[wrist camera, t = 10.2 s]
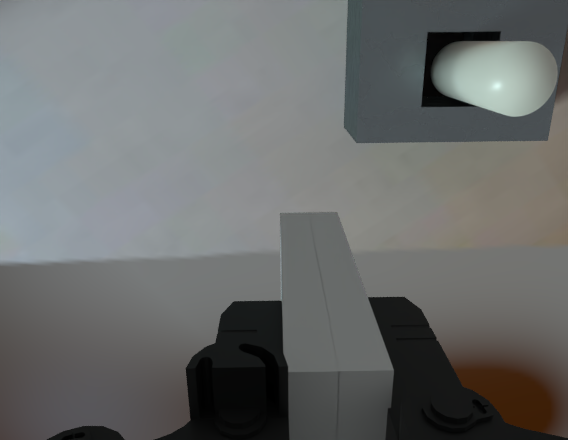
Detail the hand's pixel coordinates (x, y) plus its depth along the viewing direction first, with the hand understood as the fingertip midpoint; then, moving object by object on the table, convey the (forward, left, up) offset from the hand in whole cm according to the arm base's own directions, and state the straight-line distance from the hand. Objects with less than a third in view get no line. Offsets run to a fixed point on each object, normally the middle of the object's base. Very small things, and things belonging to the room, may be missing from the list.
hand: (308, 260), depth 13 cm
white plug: (+12, +3, -24) cm, 27 cm away
